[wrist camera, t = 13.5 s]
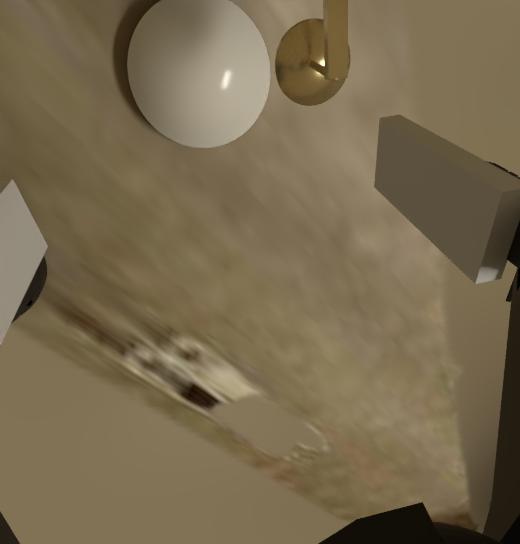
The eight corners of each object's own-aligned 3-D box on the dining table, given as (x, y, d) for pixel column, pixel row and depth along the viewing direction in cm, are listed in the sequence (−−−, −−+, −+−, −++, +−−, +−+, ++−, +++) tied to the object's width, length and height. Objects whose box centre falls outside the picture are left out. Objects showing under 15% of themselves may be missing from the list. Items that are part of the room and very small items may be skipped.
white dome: (146, 150, 40) (145, 154, 39) (111, -5, 32) (109, -5, 31) (269, 137, 41) (272, 141, 40) (265, -14, 34) (268, -14, 33)
